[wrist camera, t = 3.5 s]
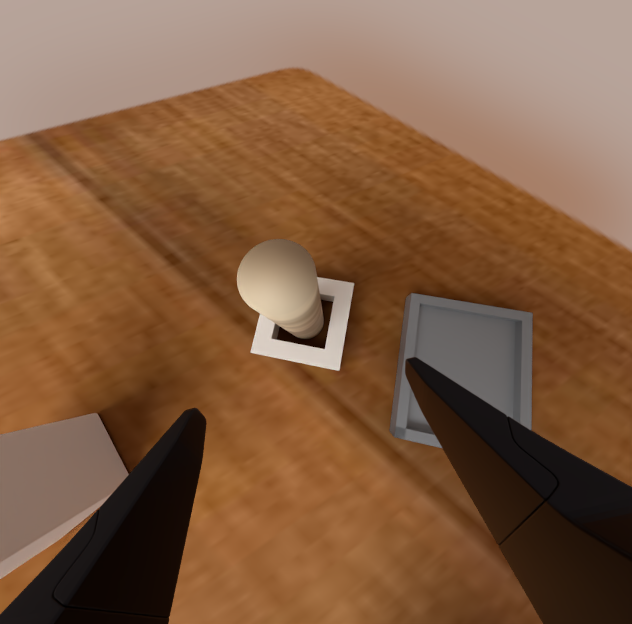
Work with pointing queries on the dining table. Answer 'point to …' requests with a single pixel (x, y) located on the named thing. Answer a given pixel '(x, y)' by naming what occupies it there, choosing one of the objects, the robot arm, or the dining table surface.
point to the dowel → (282, 286)
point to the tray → (464, 358)
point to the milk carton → (52, 483)
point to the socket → (325, 358)
